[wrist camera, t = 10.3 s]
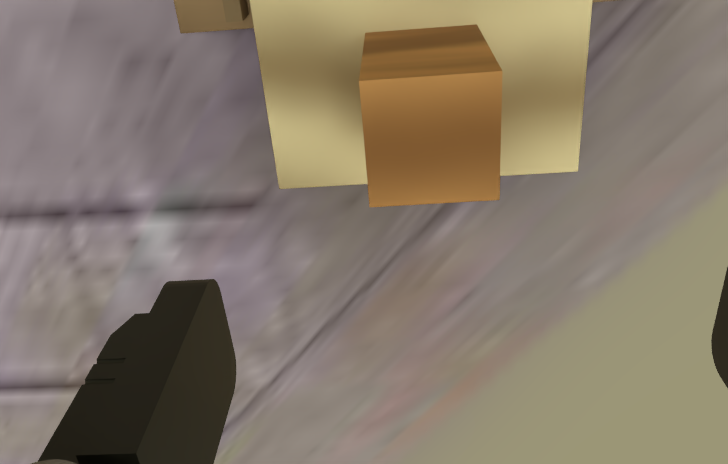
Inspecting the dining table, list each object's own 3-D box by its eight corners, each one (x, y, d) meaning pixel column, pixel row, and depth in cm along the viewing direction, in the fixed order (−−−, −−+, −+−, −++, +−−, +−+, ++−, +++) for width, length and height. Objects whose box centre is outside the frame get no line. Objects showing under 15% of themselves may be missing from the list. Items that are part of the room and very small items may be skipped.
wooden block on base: (251, -21, 24) (205, 18, 18) (590, -48, 23) (660, -17, 17) (282, 180, 28) (253, 267, 22) (572, 163, 27) (625, 248, 21)
